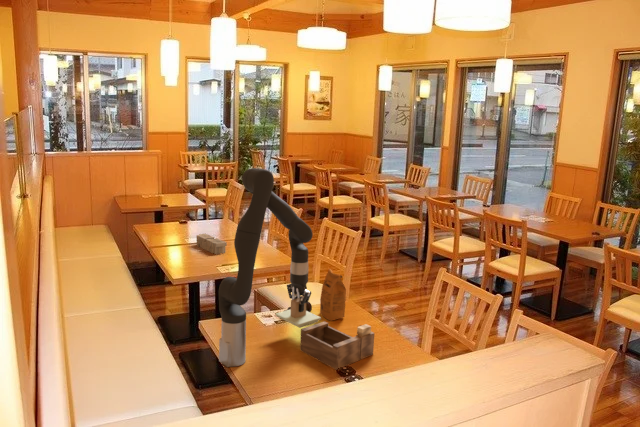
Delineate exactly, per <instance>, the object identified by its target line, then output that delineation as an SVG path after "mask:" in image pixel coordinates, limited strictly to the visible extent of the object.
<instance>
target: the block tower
mask: <svg viewBox="0 0 640 427" xmlns="http://www.w3.org/2000/svg"><path fill="white" fill-rule="evenodd" d="M227 245H228V244H227V242H226V240H221V239H220V238H215V237H214V236H212V235H210V234H208V233H200V234H196V246H197V247H198V248H200V249H203V250H204V251H208V252H209V253H211V254H213V253H214V254H213V255H215V254H216V255H221V254H220V253H222V254H226V253H225V252H226V247H227Z"/></svg>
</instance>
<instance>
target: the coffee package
mask: <svg viewBox="0 0 640 427" xmlns="http://www.w3.org/2000/svg"><path fill="white" fill-rule="evenodd" d="M333 272H334V271H333V270H332V269H331V268H329V269H328V270H327V273H326V275H325V278H324V280H323V283H322V286H321V291H320V292H321V294H320V299H319V300H320V306H319V307H320V308H319V314H320V315H322V316H323V318H324V319H325V320H328V321H332V322H333V321H334V320H338V319H343V318H345V313H346V298H347V297H346V295H347V289H346V286H345V285H344V282H343V280H342V278H343V275H342V274H340V273H339V274H337V273H333Z"/></svg>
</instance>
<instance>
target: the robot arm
mask: <svg viewBox="0 0 640 427" xmlns="http://www.w3.org/2000/svg"><path fill="white" fill-rule="evenodd" d="M242 174H243V175H242V178H241V179H242V180H241V181H242V185H243V186H244V188H245V189H246V190H247V191H248V192H249V193H251V198H250V199H251V200H250V203H249V206H248V208H247V210H246V211H245V212H244V214H243V215H242V217H241V218H240V220H239V222H238V223H237V226H236V230H235V236H234V240H233V241H234V250H235V251H234V252H235V255H236V259H237V262H238V263H237V264H238V267H237V268H238V269H237V275H236V277H234V276H226V277H224V278H223V279H222V280H221V282H220V284H219V288H218V309H219V313H220V316H221V331H220V332H221V335H220V336H221V337H219V339H218V346H219V347H218V348H219V350H218V362H220V363H221V364H222V365H223V366H225V367H227V368H230V367H239V366H242V365H244V364H245V363H246V358H247V357H246V353H247V352H246V351H247V350H246V349H247V348H246V347H247V312H246V310H245V309H244V308H243V307H242V306H244V305H245V304H246V303H247V302H248V301H249V299H250V297H251V293H252V290H253V289H252V287H253V282H254V281H253V279H254V270H255V263H256V260H257V252H258V249H259V245H260V240H261V236H262V232H263V231H262V230H263V224H264V220H265V217H266V212H267V210H269V211H270V212H271V213H272V215H274V217H275V218H276V219H277V220H278V222H280V223H281V225H282V226H283V228H286V229H287V230H288V234H287V236H288V241H289V246H290V249H291V250H290V251H291V252H290V253H291V254H290V255H291V256H290V257H291V258H290V270H289V272H290V275H289V282H290V283H289V284H286V288H287V293H288V297H289V299H291V300H294V299H297V298H298V299H299V312H303V311H304V304H305V303H308V302H310V297H311V295H312V291H309V290H308V288H307V284H308V283H309V249H308V247H307V246H305V244H306V243H309V242H310V241H311V240H312V239H313V237H314V236H313V230H312V228H311V226H310V225H309V224H308V223H306V222H305V221H304V220H303V219H302V218H301V217H299V216H298V214H297V213H296V212H295V211H294V210H293V208H292V207H291V206H290V205H289V203H287V202H286V201H285V200H283V199H282V198H281V197H280V196H278V195H277V194H276V193H275V192H274V191H273V189H274V183H275V181H274V180H275V178H274V174H273V172H272V171H270V170H269V169H265V168H256V167H251V168H248V169H246V170H245V171H244V172H243V173H242ZM301 298H302V301H301Z"/></svg>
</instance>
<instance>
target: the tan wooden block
mask: <svg viewBox="0 0 640 427" xmlns="http://www.w3.org/2000/svg"><path fill="white" fill-rule="evenodd" d="M371 332H372V325H369V324H367V323H365V324H362V325H360V326H357V328H356V335H360V336H365V335H367V334H370V333H371Z"/></svg>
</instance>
